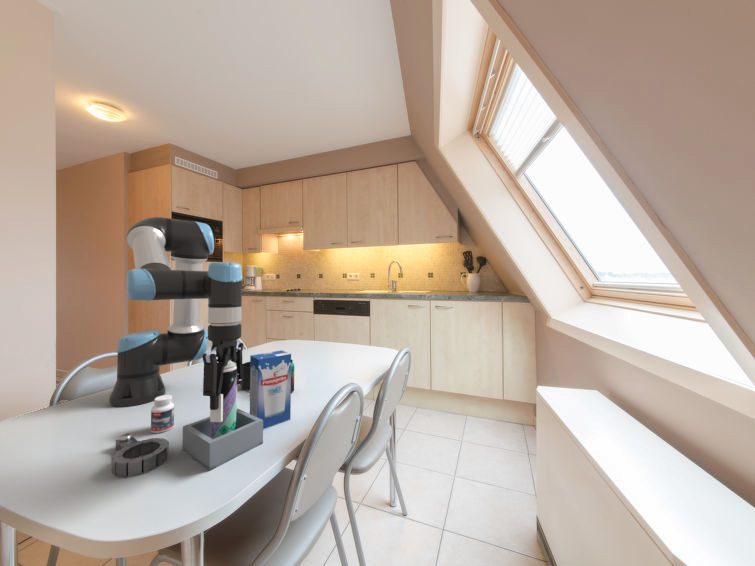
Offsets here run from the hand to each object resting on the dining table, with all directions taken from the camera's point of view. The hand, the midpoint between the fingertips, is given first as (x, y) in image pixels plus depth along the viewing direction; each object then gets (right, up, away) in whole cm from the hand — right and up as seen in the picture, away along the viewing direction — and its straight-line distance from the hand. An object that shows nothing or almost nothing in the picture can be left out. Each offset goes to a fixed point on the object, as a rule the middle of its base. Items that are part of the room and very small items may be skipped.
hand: (224, 415), depth 72 cm
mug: (-10, -8, +41) cm, 43 cm away
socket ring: (-19, -8, -5) cm, 21 cm away
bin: (0, -8, 0) cm, 8 cm away
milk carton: (+7, -8, +14) cm, 17 cm away
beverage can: (+4, -8, +36) cm, 37 cm away
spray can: (0, -5, 0) cm, 5 cm away
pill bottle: (-22, -8, +9) cm, 25 cm away
